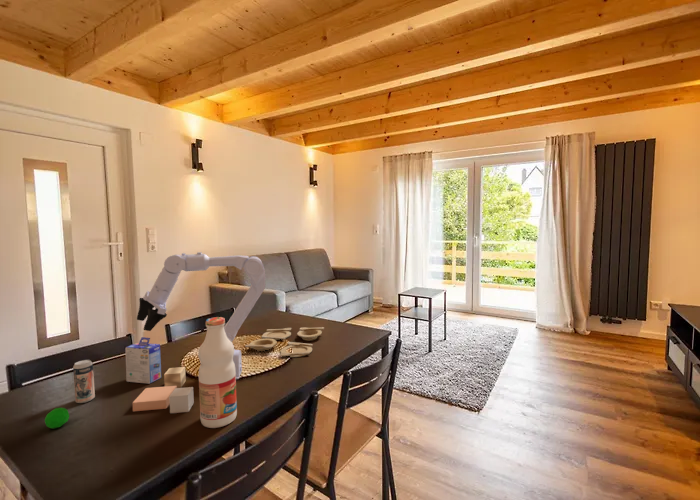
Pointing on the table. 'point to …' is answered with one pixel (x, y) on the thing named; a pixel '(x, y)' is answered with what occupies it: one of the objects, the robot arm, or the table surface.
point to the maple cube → (175, 377)
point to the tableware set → (298, 348)
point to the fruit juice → (217, 376)
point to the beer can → (83, 381)
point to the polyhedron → (57, 418)
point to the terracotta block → (153, 398)
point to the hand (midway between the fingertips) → (143, 325)
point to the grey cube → (181, 400)
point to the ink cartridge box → (143, 362)
